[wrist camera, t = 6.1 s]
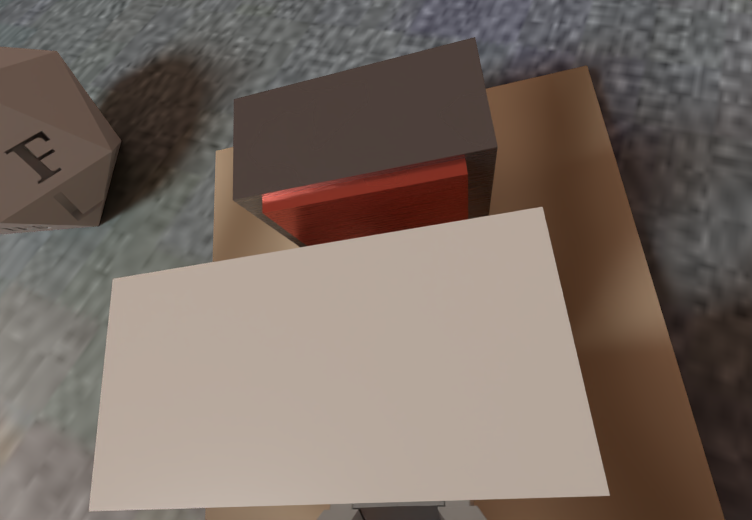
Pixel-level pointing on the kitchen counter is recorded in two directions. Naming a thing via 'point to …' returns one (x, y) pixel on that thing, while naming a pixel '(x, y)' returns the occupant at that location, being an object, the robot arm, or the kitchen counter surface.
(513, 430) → the white rectangular block
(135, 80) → the kitchen counter surface
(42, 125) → the die
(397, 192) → the block
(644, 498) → the tan square base board
